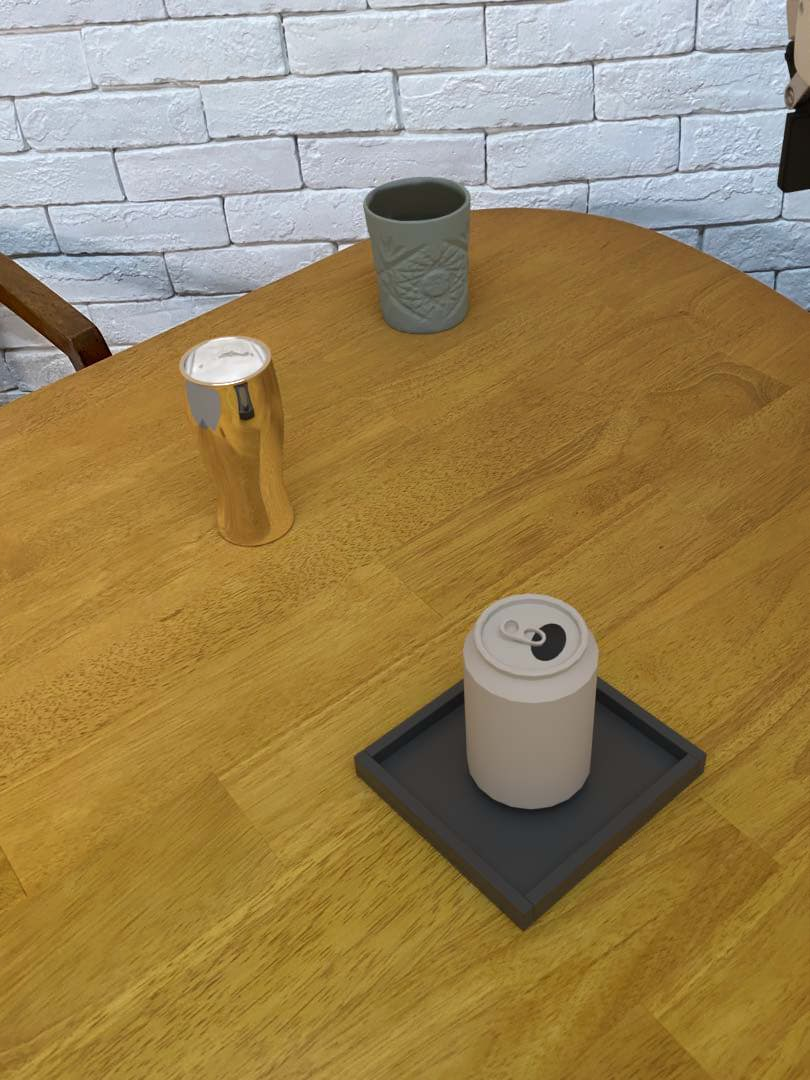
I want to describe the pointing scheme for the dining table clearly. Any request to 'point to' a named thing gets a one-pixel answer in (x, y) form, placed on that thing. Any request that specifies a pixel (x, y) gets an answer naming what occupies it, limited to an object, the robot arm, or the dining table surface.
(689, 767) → the tray
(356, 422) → the dining table surface
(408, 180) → the embossed green cup
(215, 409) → the beer glass
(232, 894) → the dining table surface
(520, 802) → the can
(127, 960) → the dining table surface
